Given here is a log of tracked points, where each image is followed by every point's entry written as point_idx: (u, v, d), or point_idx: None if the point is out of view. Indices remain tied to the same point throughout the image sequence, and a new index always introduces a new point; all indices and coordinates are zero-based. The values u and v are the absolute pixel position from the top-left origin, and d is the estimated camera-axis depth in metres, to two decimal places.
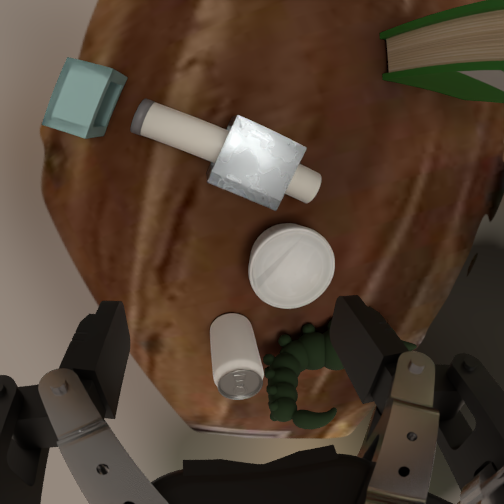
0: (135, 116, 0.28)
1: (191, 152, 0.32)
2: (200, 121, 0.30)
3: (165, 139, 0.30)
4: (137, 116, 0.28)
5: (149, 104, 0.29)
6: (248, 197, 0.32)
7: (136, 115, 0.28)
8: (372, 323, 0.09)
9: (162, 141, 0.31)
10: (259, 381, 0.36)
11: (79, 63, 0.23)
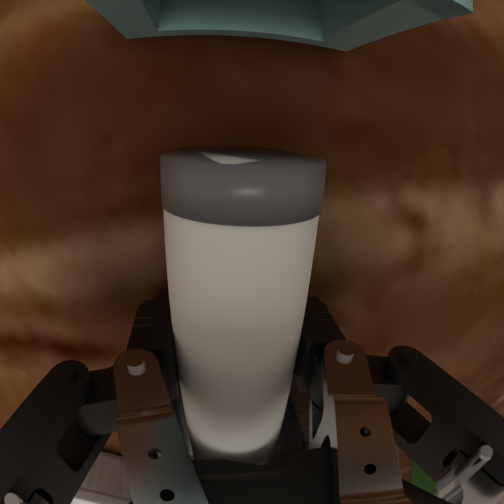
0: (248, 173, 0.06)
1: (184, 393, 0.09)
2: (291, 381, 0.10)
3: (189, 330, 0.08)
4: (251, 184, 0.06)
5: (315, 206, 0.07)
6: None
7: (255, 177, 0.06)
8: (308, 311, 0.10)
9: (174, 308, 0.08)
10: None
11: None
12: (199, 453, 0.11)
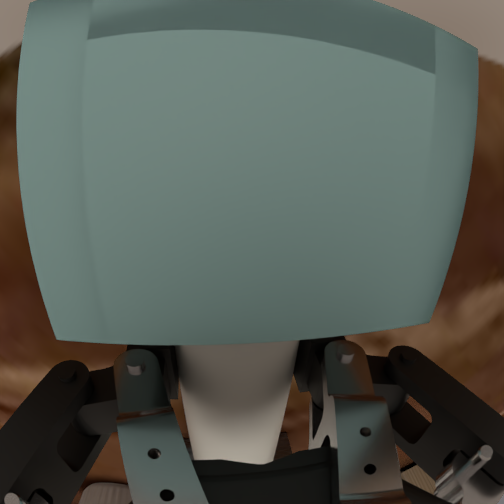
0: None
1: (184, 392, 0.09)
2: (290, 381, 0.10)
3: None
4: None
5: None
6: None
7: None
8: None
9: None
10: None
11: (463, 131, 0.04)
12: (199, 453, 0.11)
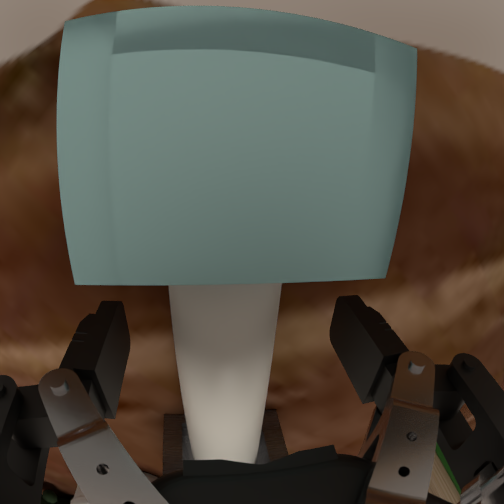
0: None
1: (178, 352, 0.11)
2: (272, 342, 0.11)
3: (183, 287, 0.09)
4: None
5: None
6: None
7: None
8: (372, 323, 0.09)
9: None
10: None
11: (401, 116, 0.06)
12: (191, 417, 0.12)
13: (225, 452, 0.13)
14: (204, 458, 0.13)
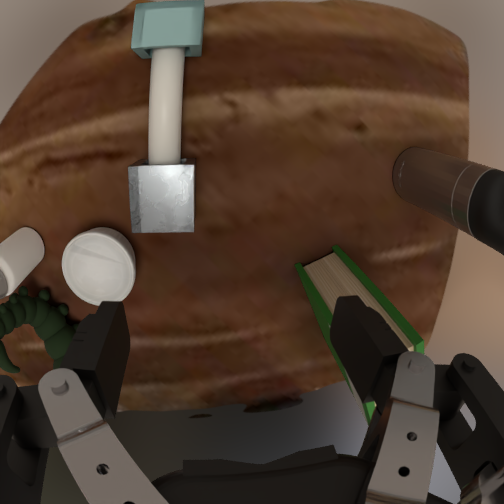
0: None
1: (150, 85, 0.31)
2: (180, 80, 0.31)
3: (154, 60, 0.29)
4: None
5: None
6: (131, 205, 0.34)
7: None
8: (372, 323, 0.09)
9: (152, 58, 0.29)
10: (3, 294, 0.30)
11: (199, 13, 0.26)
12: (150, 116, 0.32)
13: (161, 135, 0.32)
14: (152, 147, 0.33)
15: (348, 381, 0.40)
